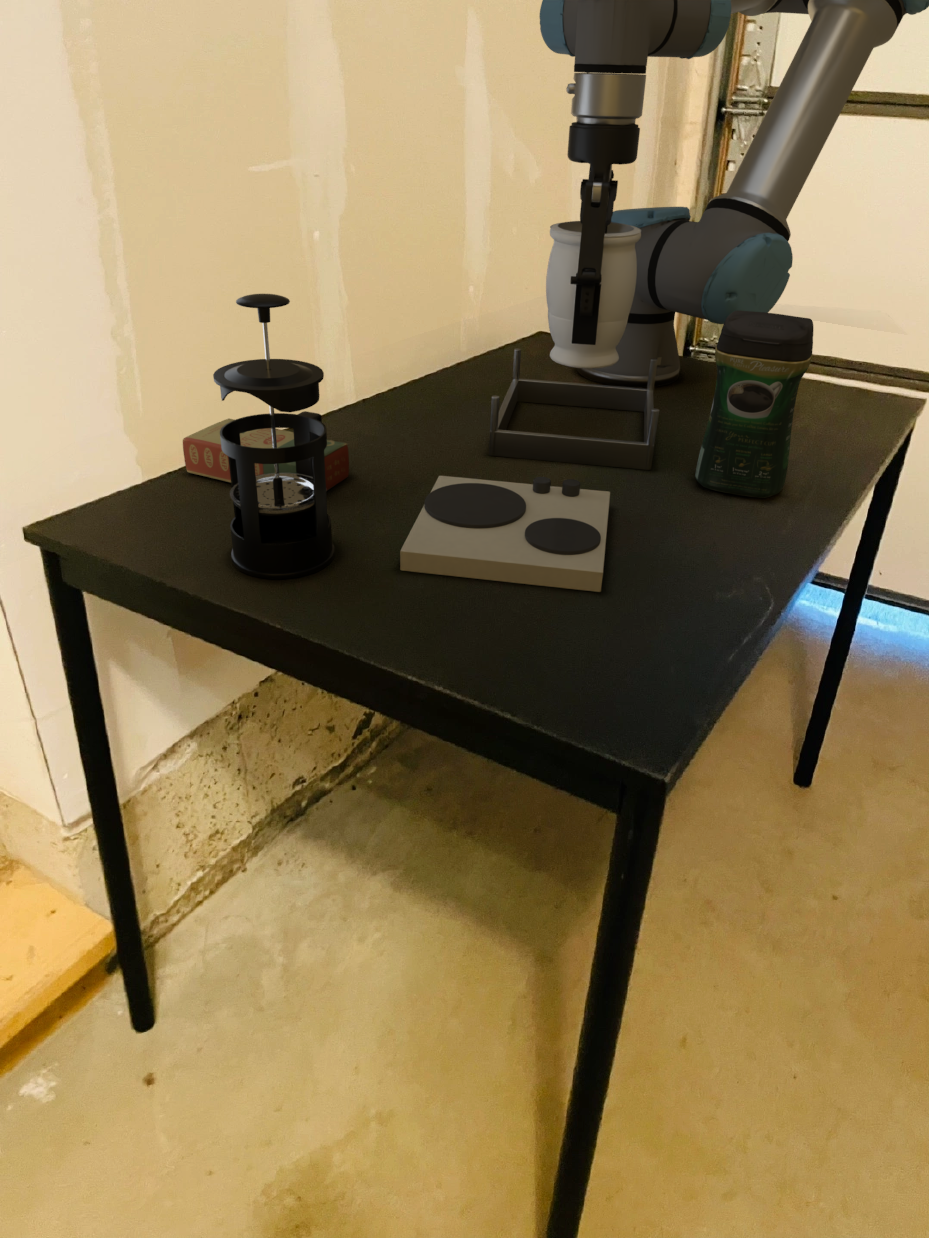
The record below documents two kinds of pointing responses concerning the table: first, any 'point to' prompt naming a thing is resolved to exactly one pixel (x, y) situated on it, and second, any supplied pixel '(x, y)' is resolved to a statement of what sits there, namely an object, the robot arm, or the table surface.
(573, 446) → the rack
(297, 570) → the french press
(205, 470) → the carton
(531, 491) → the stove
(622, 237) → the jar
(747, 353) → the coffee jar
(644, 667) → the table surface
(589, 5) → the robot arm
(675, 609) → the table surface
